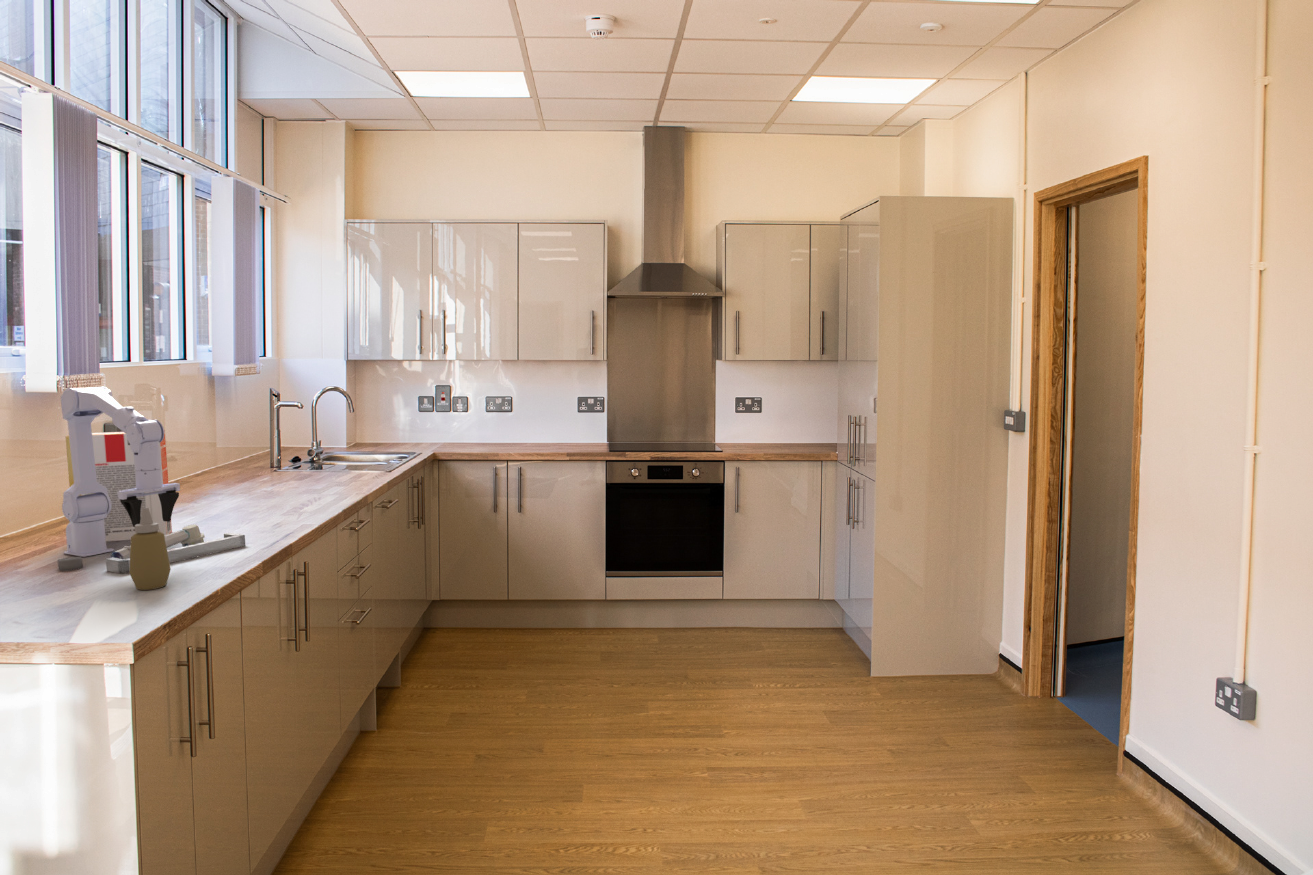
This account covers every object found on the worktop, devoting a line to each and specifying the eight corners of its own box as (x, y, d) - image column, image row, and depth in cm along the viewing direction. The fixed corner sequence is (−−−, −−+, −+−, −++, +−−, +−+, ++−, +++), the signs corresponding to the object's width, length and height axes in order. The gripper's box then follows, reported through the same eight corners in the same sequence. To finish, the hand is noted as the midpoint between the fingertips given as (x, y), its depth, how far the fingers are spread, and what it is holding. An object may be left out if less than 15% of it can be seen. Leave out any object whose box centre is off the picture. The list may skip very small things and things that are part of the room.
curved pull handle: (106, 570, 218) (105, 558, 217) (229, 543, 246) (229, 532, 246) (122, 573, 214) (121, 561, 214) (245, 545, 243) (244, 534, 243)
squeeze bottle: (128, 593, 196) (121, 512, 195) (133, 585, 204) (127, 506, 202) (170, 589, 200) (164, 509, 198) (173, 580, 207) (167, 503, 205)
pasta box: (171, 531, 265) (164, 430, 262) (167, 536, 257) (159, 432, 254) (82, 538, 257) (73, 433, 254) (74, 543, 250) (65, 436, 247)
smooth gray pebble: (54, 570, 220) (53, 560, 220) (75, 565, 224) (74, 555, 224) (65, 572, 217) (64, 562, 217) (87, 567, 222) (86, 557, 222)
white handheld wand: (106, 550, 223) (192, 518, 245) (112, 575, 225) (196, 541, 247) (121, 552, 221) (206, 520, 243) (126, 577, 223) (210, 543, 245)
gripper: (128, 474, 213) (132, 530, 215) (185, 466, 226) (189, 519, 227) (111, 472, 217) (115, 528, 218) (168, 465, 229) (172, 517, 231)
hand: (152, 523), depth 223 cm, fingers open, 7 cm apart
